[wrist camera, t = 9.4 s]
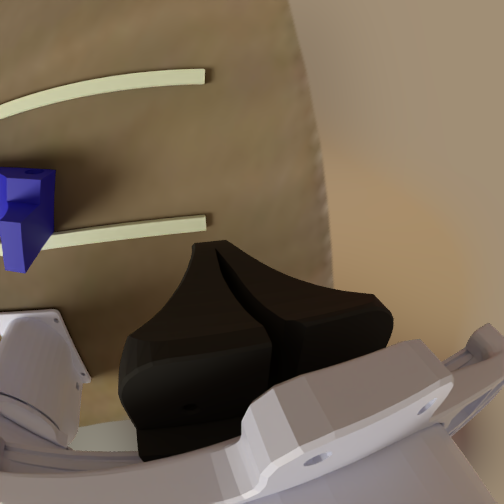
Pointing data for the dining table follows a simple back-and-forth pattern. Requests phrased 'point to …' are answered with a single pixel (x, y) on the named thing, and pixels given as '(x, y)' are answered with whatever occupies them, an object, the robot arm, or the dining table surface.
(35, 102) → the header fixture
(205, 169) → the dining table surface
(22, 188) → the cable clip
